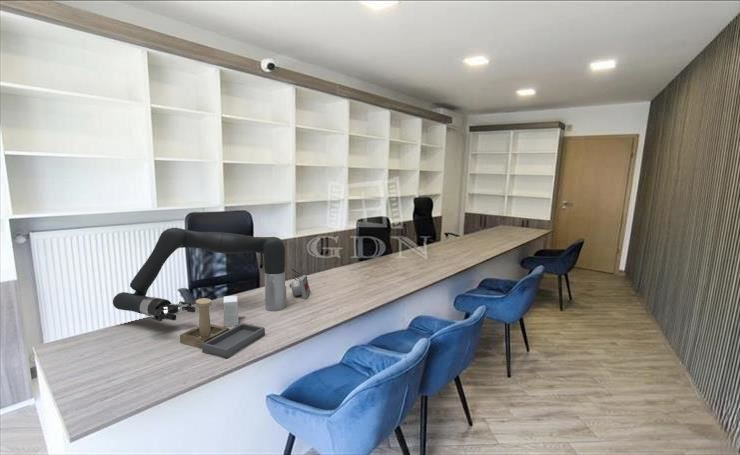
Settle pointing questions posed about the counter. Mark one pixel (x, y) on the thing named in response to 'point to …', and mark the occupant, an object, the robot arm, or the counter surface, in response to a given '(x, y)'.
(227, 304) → the small box
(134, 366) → the counter surface
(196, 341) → the socket collar
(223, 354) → the tray
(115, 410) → the counter surface
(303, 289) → the voltmeter
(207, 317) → the handle
